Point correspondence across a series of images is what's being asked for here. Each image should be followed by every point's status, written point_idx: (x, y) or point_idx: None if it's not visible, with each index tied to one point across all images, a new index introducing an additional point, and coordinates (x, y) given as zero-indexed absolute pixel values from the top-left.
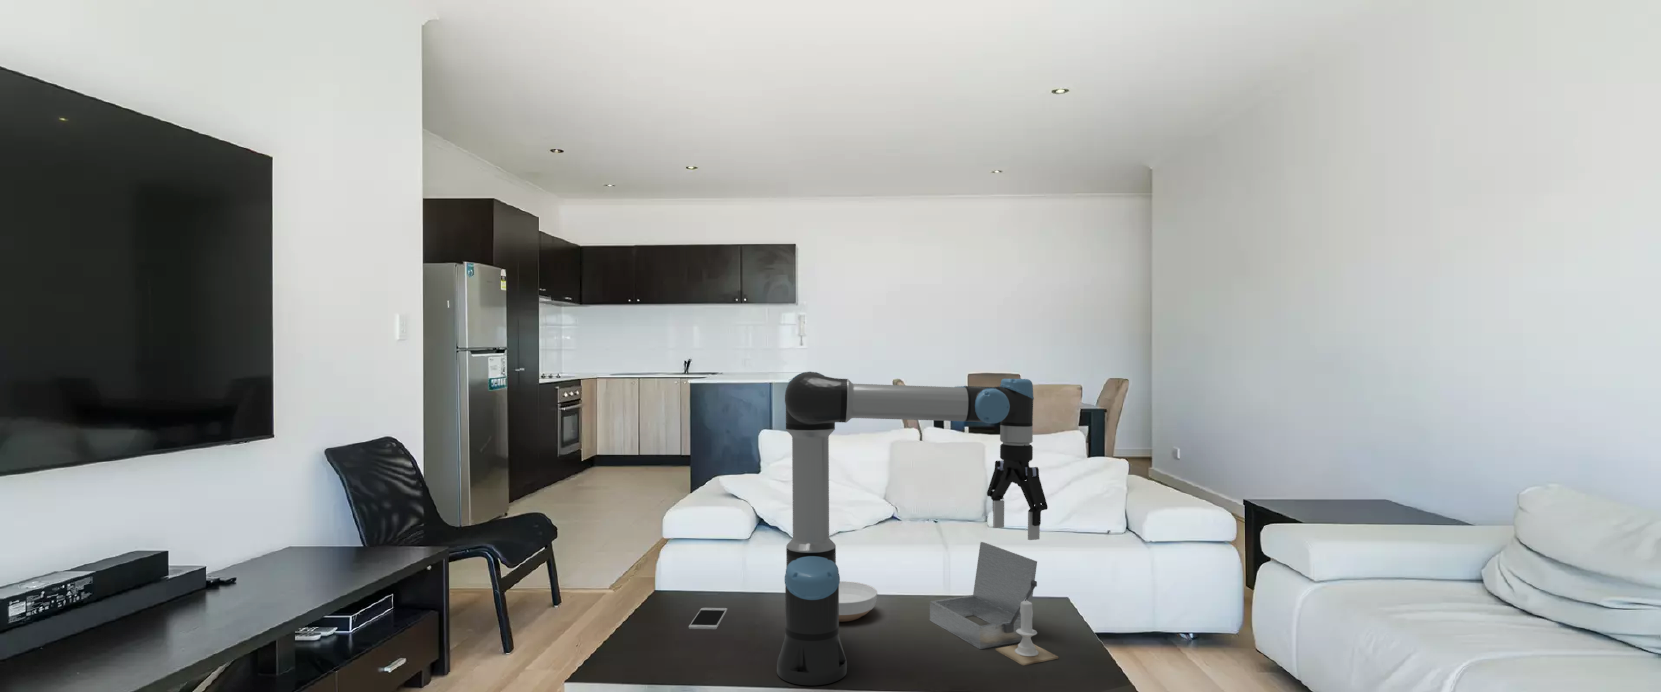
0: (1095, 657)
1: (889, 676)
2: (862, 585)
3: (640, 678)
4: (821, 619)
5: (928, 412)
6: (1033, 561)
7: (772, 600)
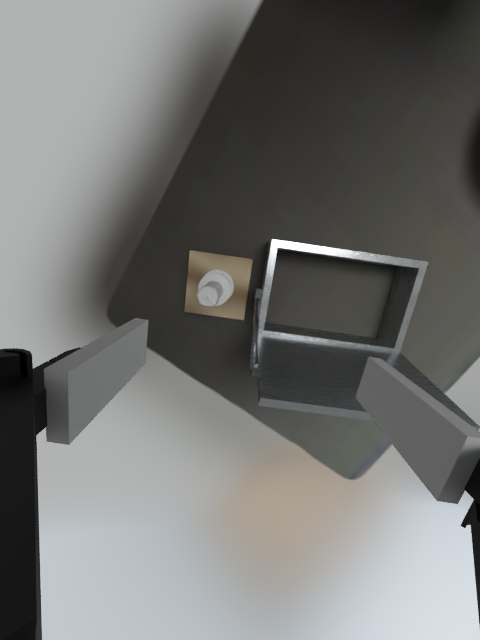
0: (164, 354)
1: (264, 22)
2: None
3: None
4: None
5: None
6: (261, 396)
7: None
